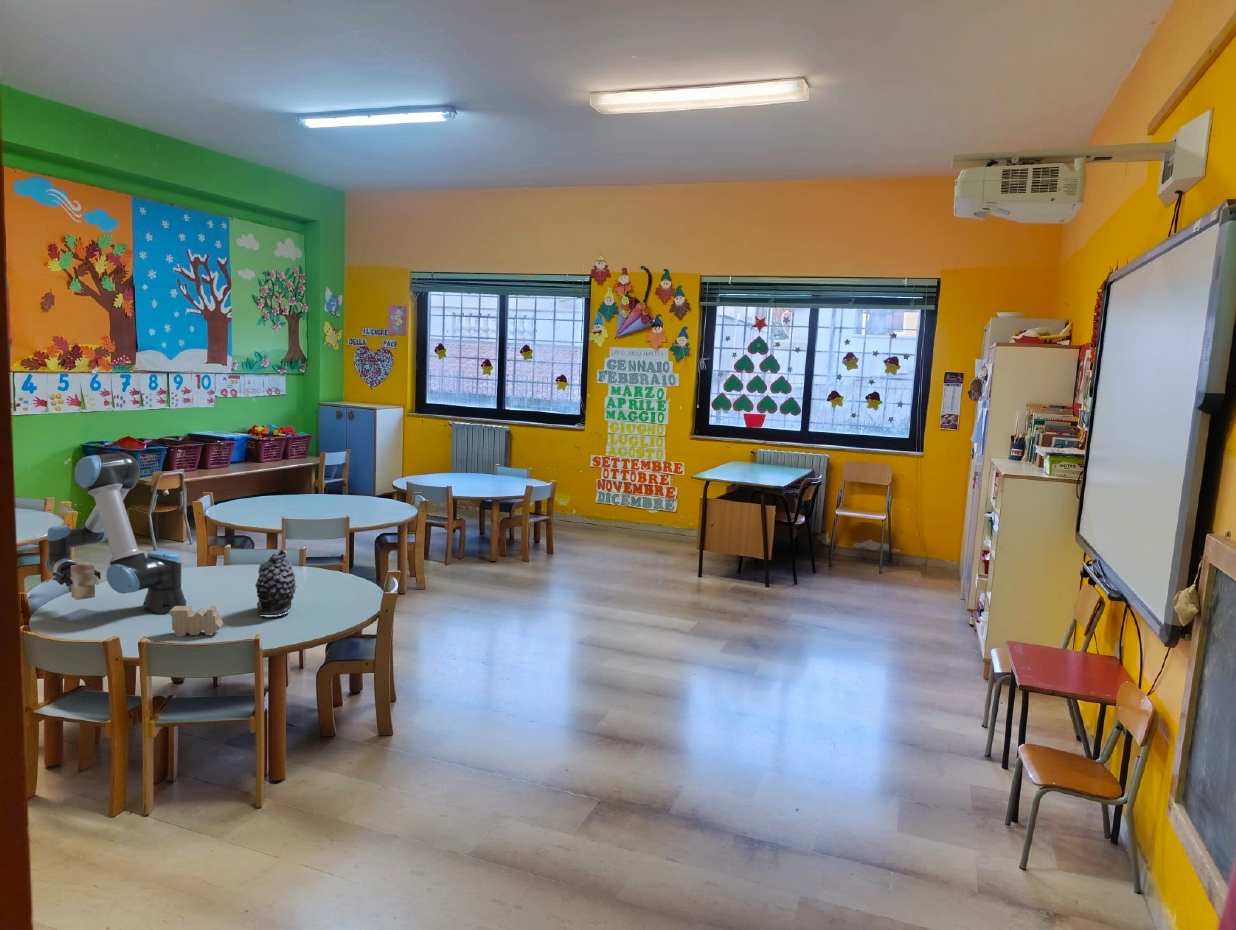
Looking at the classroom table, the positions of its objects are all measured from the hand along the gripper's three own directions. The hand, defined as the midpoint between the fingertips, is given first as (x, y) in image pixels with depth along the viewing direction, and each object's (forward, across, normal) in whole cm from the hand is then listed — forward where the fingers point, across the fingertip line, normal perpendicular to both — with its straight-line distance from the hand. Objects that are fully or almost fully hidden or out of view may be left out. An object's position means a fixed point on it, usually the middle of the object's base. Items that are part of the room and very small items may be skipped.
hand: (87, 582), depth 301 cm
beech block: (-5, 0, -7) cm, 8 cm away
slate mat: (-3, -1, -15) cm, 15 cm away
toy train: (+37, -24, -16) cm, 47 cm away
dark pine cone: (+30, -57, -16) cm, 67 cm away
